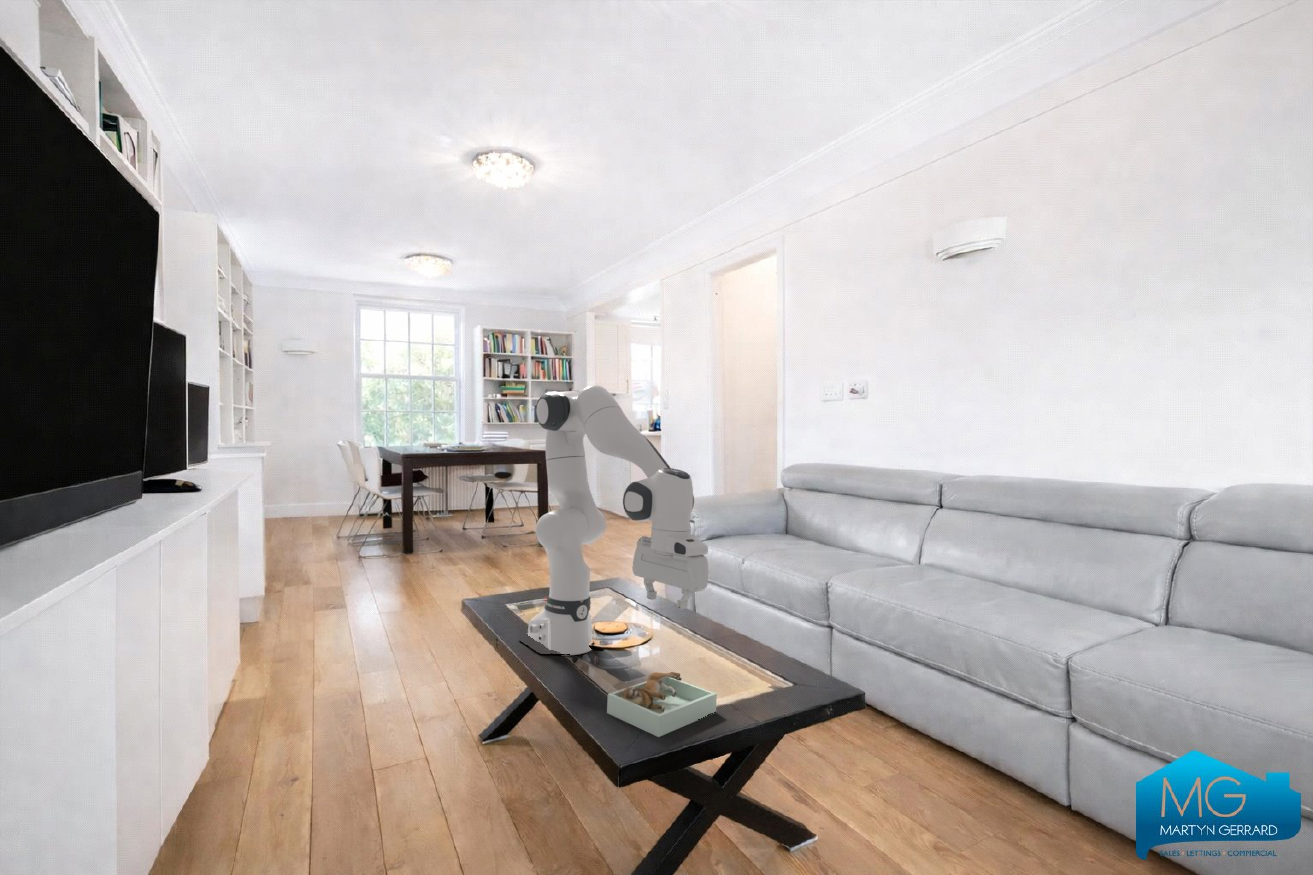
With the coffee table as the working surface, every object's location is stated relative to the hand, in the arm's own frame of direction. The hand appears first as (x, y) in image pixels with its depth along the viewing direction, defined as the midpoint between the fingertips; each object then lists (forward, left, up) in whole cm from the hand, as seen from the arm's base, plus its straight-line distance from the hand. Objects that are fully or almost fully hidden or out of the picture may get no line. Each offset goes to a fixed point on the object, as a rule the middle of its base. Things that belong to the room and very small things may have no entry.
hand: (666, 603), depth 141 cm
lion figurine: (+5, -3, -18) cm, 19 cm away
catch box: (+4, -4, -22) cm, 23 cm away
